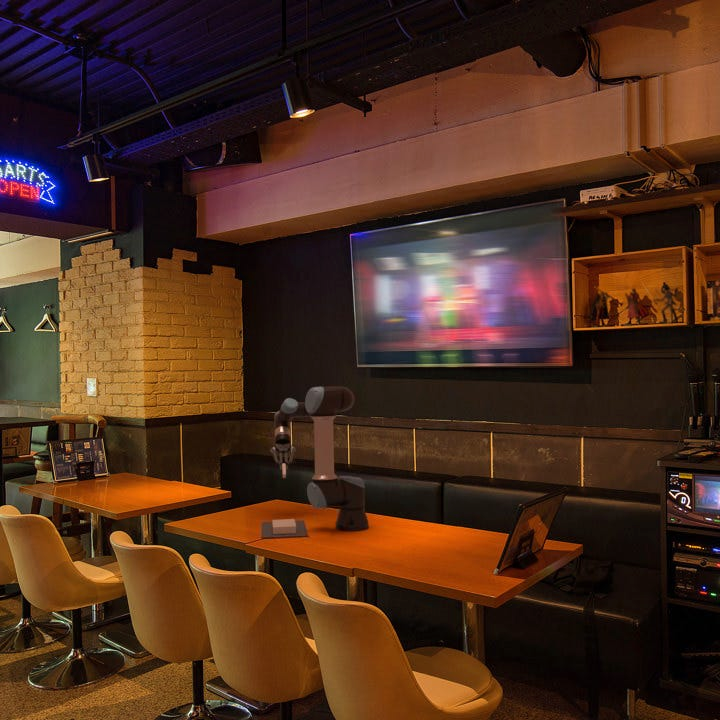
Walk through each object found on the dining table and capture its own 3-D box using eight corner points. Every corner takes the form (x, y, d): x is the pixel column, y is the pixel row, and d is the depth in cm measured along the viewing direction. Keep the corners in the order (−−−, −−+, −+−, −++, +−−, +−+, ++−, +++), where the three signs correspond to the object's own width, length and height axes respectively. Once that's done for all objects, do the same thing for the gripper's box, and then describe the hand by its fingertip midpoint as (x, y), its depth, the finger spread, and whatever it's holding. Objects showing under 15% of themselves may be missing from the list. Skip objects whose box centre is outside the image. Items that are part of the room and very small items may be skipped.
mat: (261, 524, 320) (261, 521, 321) (304, 522, 323) (304, 520, 323) (261, 539, 291) (261, 537, 291) (308, 537, 294) (308, 534, 294)
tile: (272, 519, 309) (272, 527, 294) (294, 519, 311) (296, 526, 296) (272, 527, 309) (272, 534, 294) (294, 526, 311) (296, 533, 296)
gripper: (295, 442, 343) (297, 480, 326) (269, 442, 341) (270, 481, 324) (295, 432, 338) (298, 470, 321) (269, 433, 336) (270, 471, 319)
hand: (284, 476), depth 323 cm, fingers closed
